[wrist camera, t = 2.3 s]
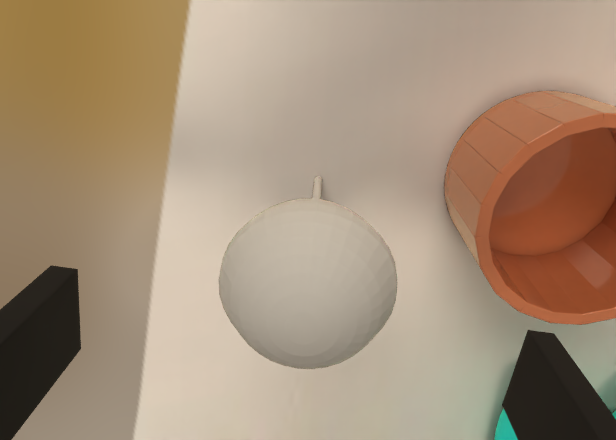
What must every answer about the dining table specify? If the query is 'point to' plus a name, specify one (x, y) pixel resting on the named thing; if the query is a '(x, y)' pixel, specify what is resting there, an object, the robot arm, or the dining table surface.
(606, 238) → the mug
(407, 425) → the dining table surface
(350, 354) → the lollipop
